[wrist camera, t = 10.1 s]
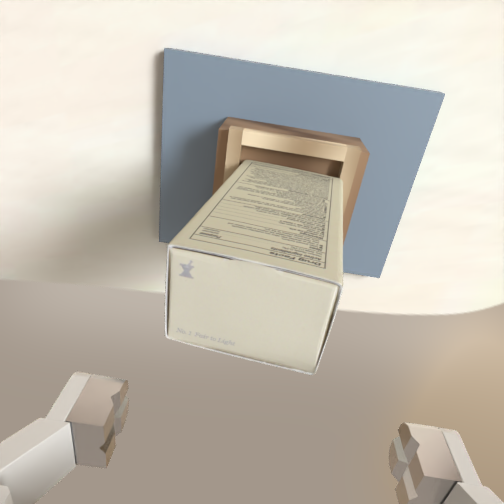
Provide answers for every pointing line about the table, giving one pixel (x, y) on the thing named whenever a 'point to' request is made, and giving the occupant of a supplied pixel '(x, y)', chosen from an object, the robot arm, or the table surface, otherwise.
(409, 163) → the blue board
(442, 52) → the table surface
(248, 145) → the walnut tray
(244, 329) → the skincare box
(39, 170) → the table surface
